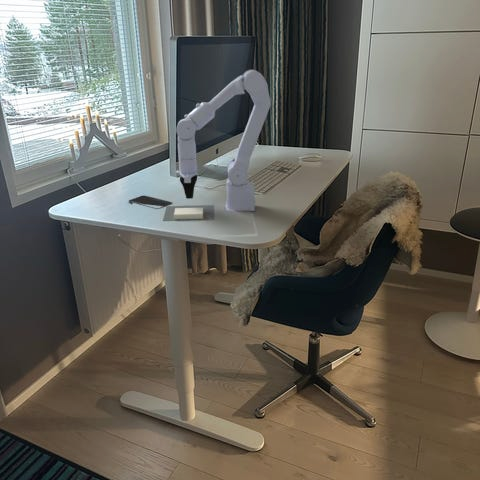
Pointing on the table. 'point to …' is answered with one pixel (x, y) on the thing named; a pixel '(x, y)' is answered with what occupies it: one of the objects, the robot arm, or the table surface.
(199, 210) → the card box
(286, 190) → the table surface
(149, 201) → the phone
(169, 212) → the desk mat
